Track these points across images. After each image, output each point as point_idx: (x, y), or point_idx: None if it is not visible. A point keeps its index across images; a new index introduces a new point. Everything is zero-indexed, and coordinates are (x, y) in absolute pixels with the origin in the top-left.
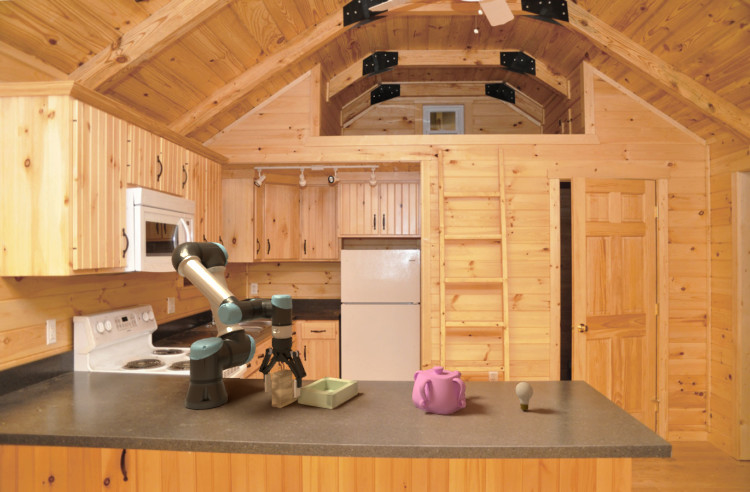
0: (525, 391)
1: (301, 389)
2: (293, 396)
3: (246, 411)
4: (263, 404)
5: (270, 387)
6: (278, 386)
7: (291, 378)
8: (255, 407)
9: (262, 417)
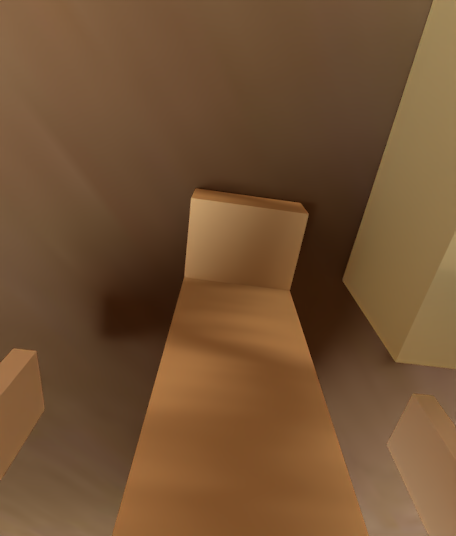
0: None
1: (444, 347)
2: (276, 244)
3: (88, 475)
4: (91, 371)
5: (16, 389)
6: None
7: (348, 521)
8: (85, 423)
9: None
